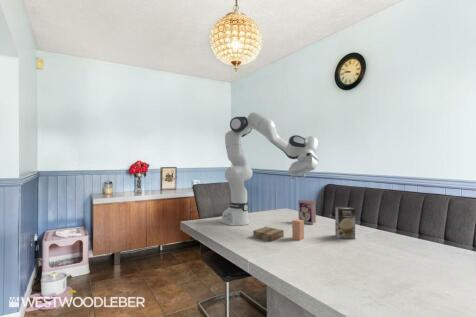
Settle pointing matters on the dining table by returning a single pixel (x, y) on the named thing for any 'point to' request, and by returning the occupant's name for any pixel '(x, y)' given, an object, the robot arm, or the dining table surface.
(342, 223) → the coffee box
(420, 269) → the dining table surface
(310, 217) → the greeting card
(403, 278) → the dining table surface
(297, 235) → the pillar block
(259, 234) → the base block
